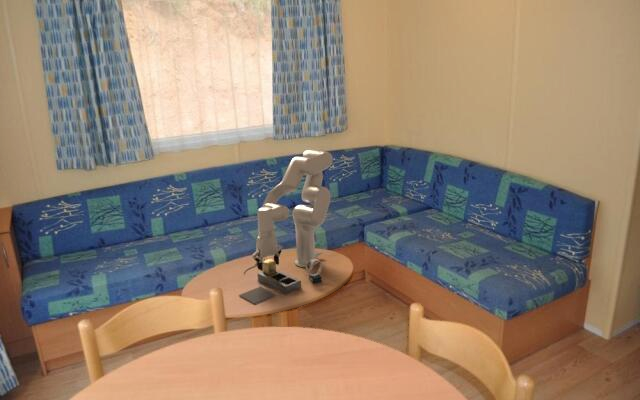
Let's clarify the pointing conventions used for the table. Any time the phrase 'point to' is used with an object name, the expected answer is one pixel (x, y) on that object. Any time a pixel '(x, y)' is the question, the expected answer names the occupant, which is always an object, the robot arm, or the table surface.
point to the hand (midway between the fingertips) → (268, 266)
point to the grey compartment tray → (280, 282)
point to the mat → (257, 295)
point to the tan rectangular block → (269, 267)
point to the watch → (315, 276)
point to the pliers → (254, 266)
